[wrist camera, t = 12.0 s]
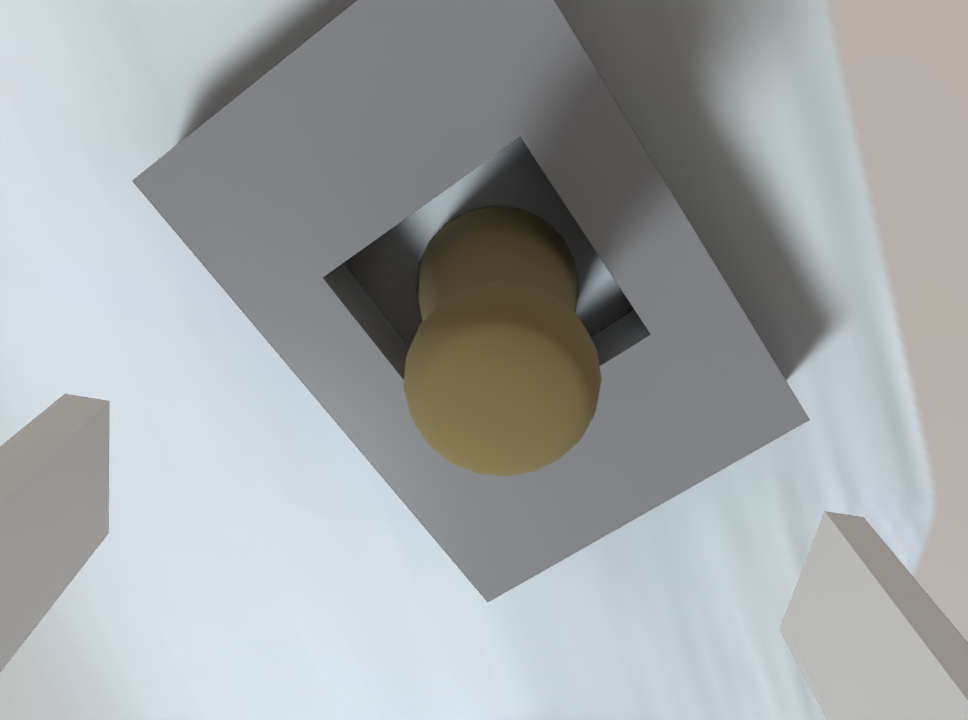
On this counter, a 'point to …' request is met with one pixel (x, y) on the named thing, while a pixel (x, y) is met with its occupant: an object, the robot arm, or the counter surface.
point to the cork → (500, 345)
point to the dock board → (417, 180)
